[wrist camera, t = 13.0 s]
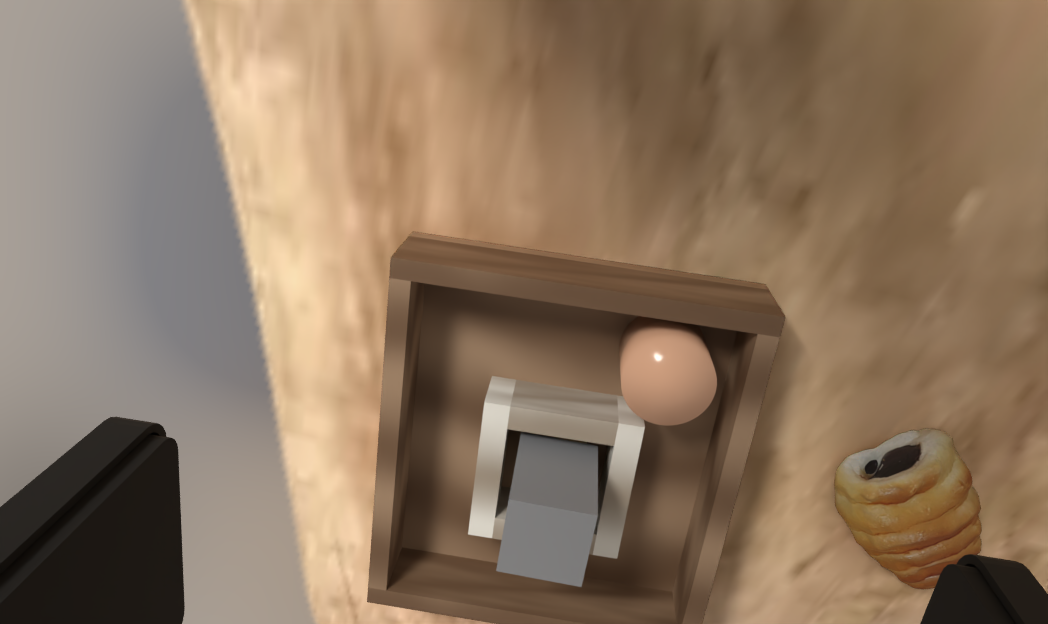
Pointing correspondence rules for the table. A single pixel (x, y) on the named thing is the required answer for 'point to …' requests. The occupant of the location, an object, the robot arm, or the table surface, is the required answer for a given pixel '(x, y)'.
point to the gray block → (551, 510)
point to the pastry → (911, 505)
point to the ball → (666, 370)
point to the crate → (554, 430)
